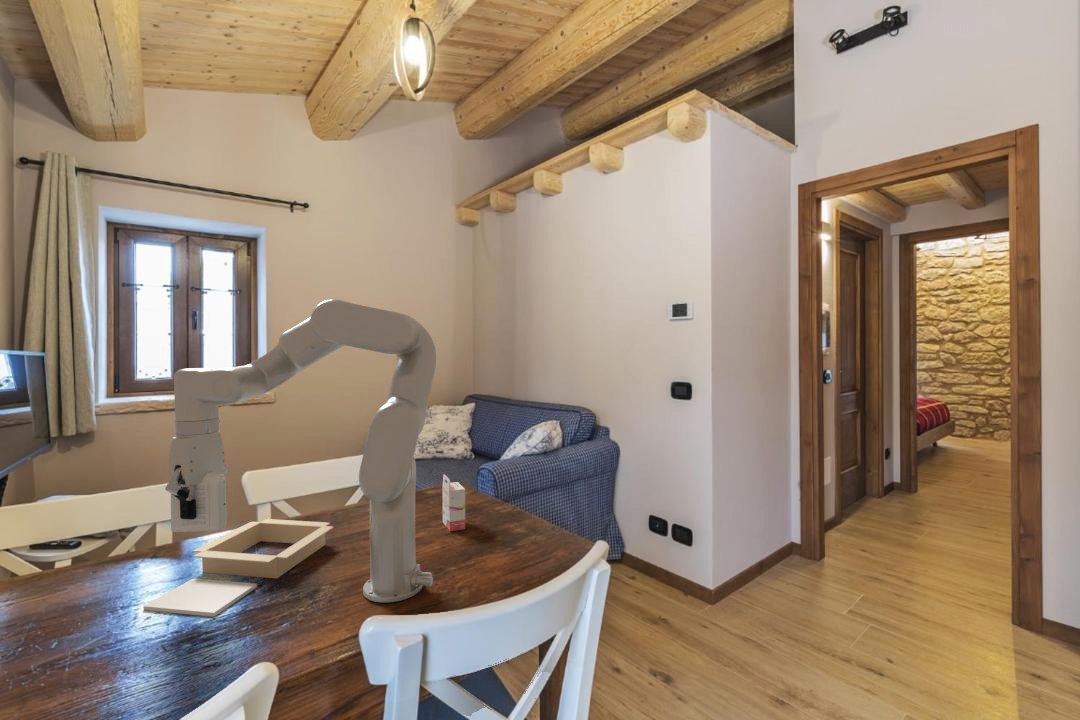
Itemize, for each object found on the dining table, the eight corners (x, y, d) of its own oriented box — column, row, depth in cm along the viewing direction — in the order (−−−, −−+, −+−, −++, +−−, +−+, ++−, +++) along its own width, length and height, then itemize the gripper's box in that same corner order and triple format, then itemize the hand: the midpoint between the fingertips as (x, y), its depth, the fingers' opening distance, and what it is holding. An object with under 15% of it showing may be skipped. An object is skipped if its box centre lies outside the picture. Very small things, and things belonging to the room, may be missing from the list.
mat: (257, 587, 112) (256, 583, 112) (213, 616, 100) (213, 612, 100) (193, 581, 114) (192, 578, 114) (143, 610, 102) (143, 606, 102)
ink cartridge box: (466, 529, 145) (466, 478, 145) (449, 532, 143) (449, 480, 143) (458, 519, 153) (457, 471, 153) (442, 522, 151) (441, 473, 150)
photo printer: (231, 524, 109) (229, 467, 109) (221, 532, 105) (219, 472, 104) (179, 526, 108) (178, 469, 107) (167, 534, 104) (165, 474, 103)
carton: (339, 541, 137) (338, 523, 137) (279, 584, 113) (279, 562, 113) (258, 536, 141) (257, 518, 140) (184, 576, 117) (183, 555, 116)
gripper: (214, 420, 114) (216, 500, 115) (144, 434, 98) (147, 527, 98) (244, 421, 113) (246, 501, 114) (178, 436, 96) (181, 530, 97)
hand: (200, 512), depth 106 cm, fingers closed on photo printer, 5 cm apart
